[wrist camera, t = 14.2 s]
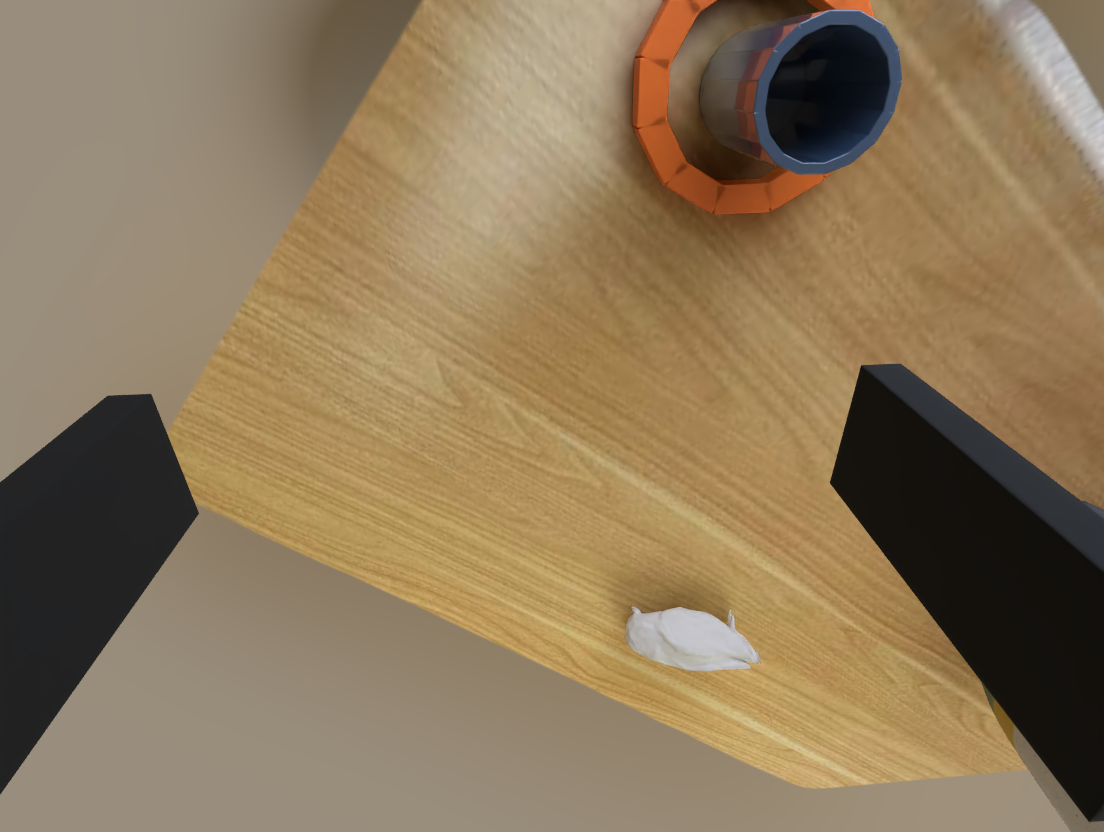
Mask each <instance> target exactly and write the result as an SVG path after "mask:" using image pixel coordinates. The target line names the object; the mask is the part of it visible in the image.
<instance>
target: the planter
mask: <svg viewBox="0 0 1104 832" xmlns="http://www.w3.org/2000/svg"><path fill="white" fill-rule="evenodd" d="M982 685H983V688H984V691H985V693H986V696H987V699H988V701H989V704H990V706H991V708H992V710H993V712H994V714H995V716H996V719H997V721H998V722H999V724H1000V726H1001V727H1002V729H1003V731H1004V732H1005V734H1006V736H1007V737H1008V739H1009V741H1010V742H1011V744H1012V745H1013V747H1014V748H1015V750H1016V751H1017V753H1018V754H1019V756H1020V758H1021V759H1022V761H1023V762H1024V764H1025V765H1026V767H1027V768H1028V770H1029V771H1030V773H1031V774H1032V776H1033V777H1034V779H1035V780H1036V781H1037V783H1038V785H1039V786H1040V787H1041V789H1042V790H1043V792H1044V793H1045V795H1046V796H1047V798H1048V799H1049V801H1050V802H1051V804H1052V805H1053V806H1054V808H1055V809H1056V811H1057V812H1058V814H1059V815H1060V817H1061V818H1062V819H1063V821H1064V822H1065V824H1066V825H1067V826H1068V828H1069V829H1070V831H1071V832H1104V821H1099V822H1088V820H1087V819H1086V818H1085V816H1084V815H1083V814H1082V812H1081V811H1080V810H1079V809H1078V807H1077V806H1076V805H1075V803H1074V802H1073V801H1072V799H1071V798H1070V797H1069V795H1068V794H1067V793H1066V792H1065V790H1064V789H1063V788H1062V786H1061V785H1060V784H1059V782H1058V781H1057V780H1056V778H1055V777H1054V776H1053V774H1052V773H1051V772H1050V771H1049V769H1048V768H1047V767H1046V765H1045V764H1044V763H1043V761H1042V760H1041V759H1040V757H1039V756H1038V755H1037V754H1036V752H1035V751H1034V750H1033V748H1032V747H1031V746H1030V744H1029V743H1028V742H1027V740H1026V739H1025V738H1024V737H1023V735H1022V734H1021V733H1020V731H1019V730H1018V729H1017V727H1016V726H1015V725H1014V723H1013V722H1012V721H1011V720H1010V718H1009V717H1008V716H1007V714H1006V713H1005V712H1004V710H1003V709H1002V708H1001V706H1000V705H999V704H998V702H997V701H996V700H995V699H994V697H993V696H992V695H991V693H990V692H989V691H988V689H987V688H986V687H985V685H984V684H983V683H982Z"/></svg>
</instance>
